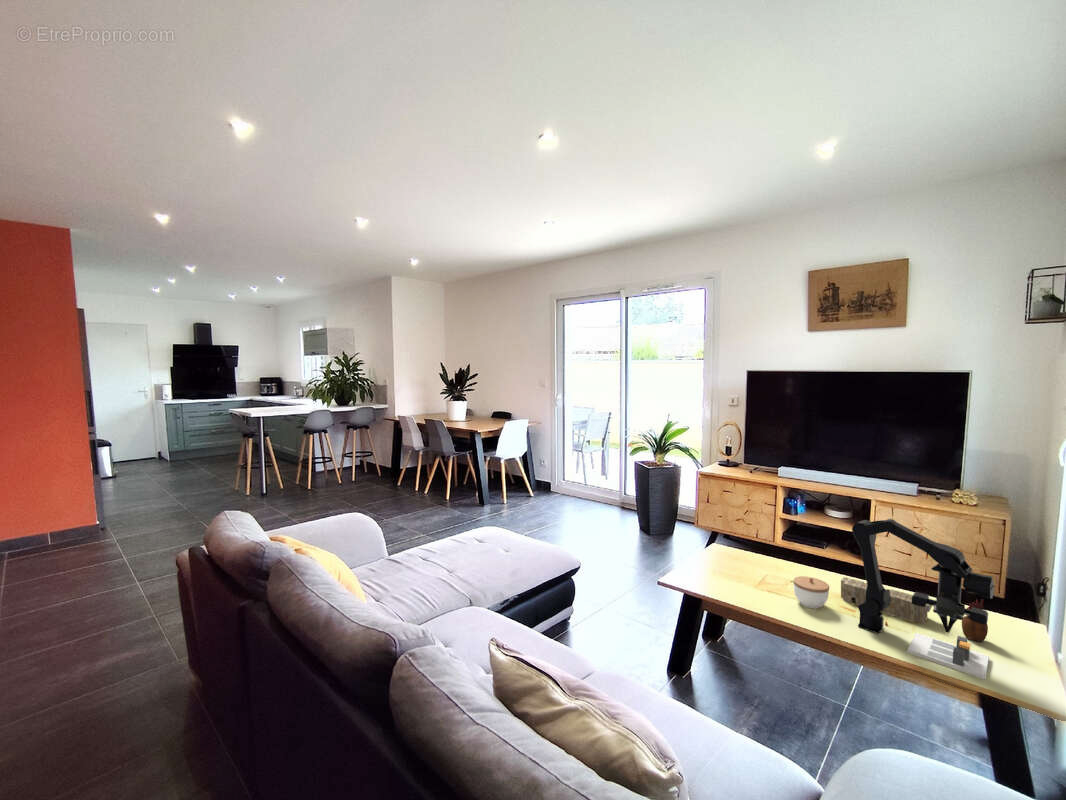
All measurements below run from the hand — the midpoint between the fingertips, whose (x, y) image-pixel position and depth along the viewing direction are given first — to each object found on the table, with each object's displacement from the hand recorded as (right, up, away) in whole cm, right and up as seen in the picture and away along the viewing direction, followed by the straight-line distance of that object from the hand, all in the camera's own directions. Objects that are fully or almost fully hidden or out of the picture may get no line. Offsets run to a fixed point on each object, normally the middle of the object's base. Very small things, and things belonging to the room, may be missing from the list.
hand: (947, 632), depth 156 cm
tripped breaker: (+3, -7, -3) cm, 8 cm away
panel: (0, -8, 0) cm, 8 cm away
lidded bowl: (-25, -6, +35) cm, 44 cm away
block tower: (+3, -7, +32) cm, 33 cm away
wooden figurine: (+19, -8, +10) cm, 23 cm away
